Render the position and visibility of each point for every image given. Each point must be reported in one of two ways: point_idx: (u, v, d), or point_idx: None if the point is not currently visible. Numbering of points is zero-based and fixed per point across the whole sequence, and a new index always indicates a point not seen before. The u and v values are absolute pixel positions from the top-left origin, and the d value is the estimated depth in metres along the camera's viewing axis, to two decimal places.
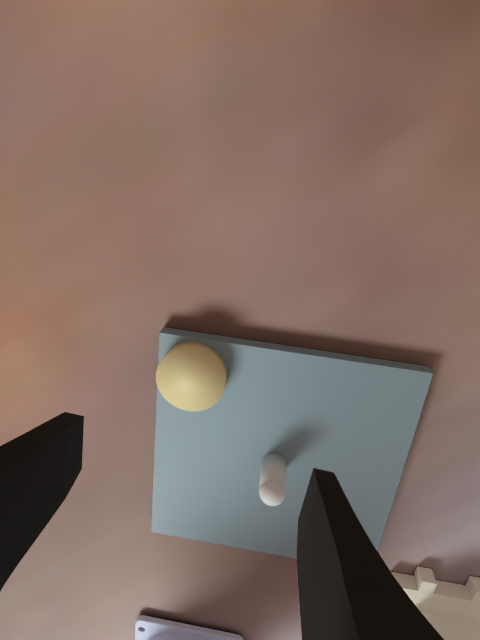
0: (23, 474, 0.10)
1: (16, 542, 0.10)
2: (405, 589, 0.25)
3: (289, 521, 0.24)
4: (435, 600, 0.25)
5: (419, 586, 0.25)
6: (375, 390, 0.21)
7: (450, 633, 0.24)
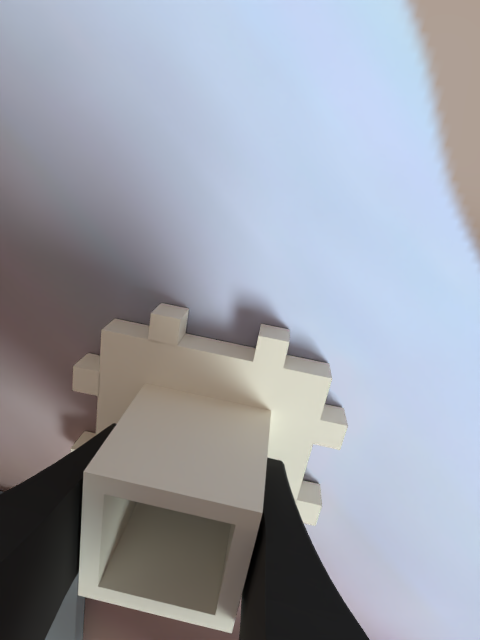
0: None
1: (75, 556, 0.10)
2: None
3: None
4: None
5: None
6: None
7: None
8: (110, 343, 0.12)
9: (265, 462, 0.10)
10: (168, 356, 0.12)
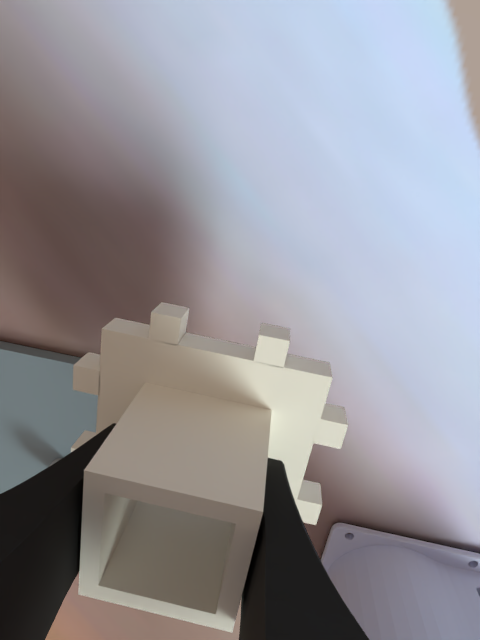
0: None
1: (75, 556, 0.10)
2: None
3: None
4: None
5: None
6: None
7: None
8: (111, 342, 0.12)
9: (266, 461, 0.10)
10: (168, 355, 0.12)
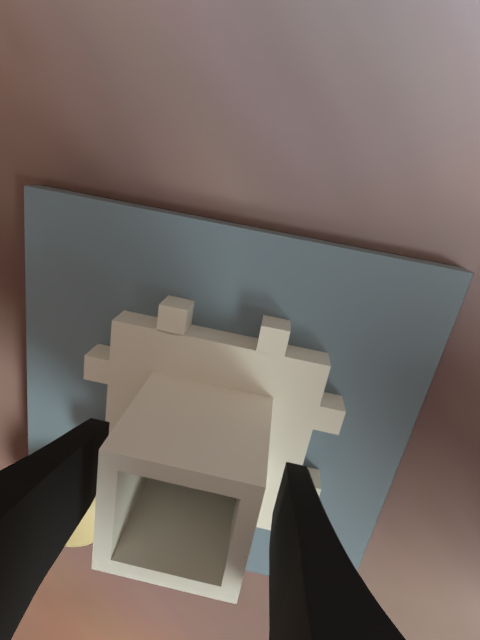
0: (56, 481, 0.10)
1: (47, 549, 0.10)
2: None
3: None
4: None
5: None
6: (65, 272, 0.14)
7: None
8: (120, 333, 0.13)
9: (268, 443, 0.11)
10: (175, 345, 0.13)
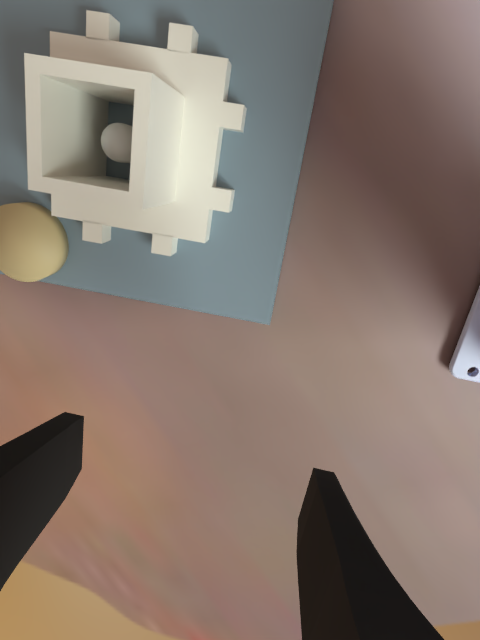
0: (23, 474, 0.10)
1: (16, 542, 0.10)
2: (53, 199, 0.18)
3: None
4: None
5: None
6: (13, 5, 0.16)
7: None
8: (57, 44, 0.16)
9: (166, 84, 0.14)
10: (102, 51, 0.16)
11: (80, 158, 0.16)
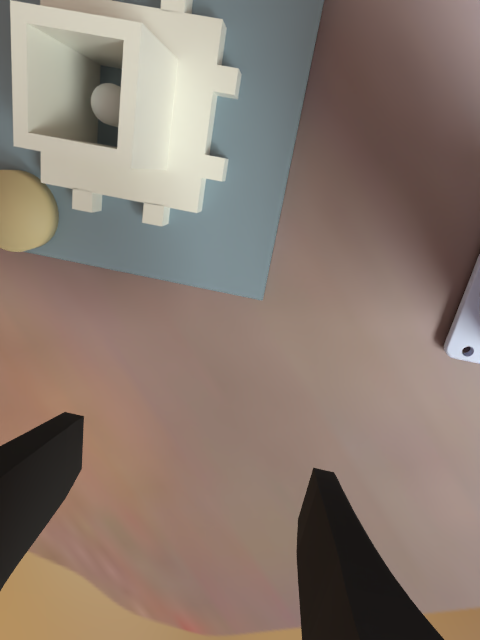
0: (23, 473, 0.10)
1: (16, 542, 0.10)
2: (42, 166, 0.17)
3: None
4: None
5: None
6: None
7: None
8: (48, 2, 0.15)
9: (157, 39, 0.13)
10: (94, 10, 0.15)
11: (70, 120, 0.15)
